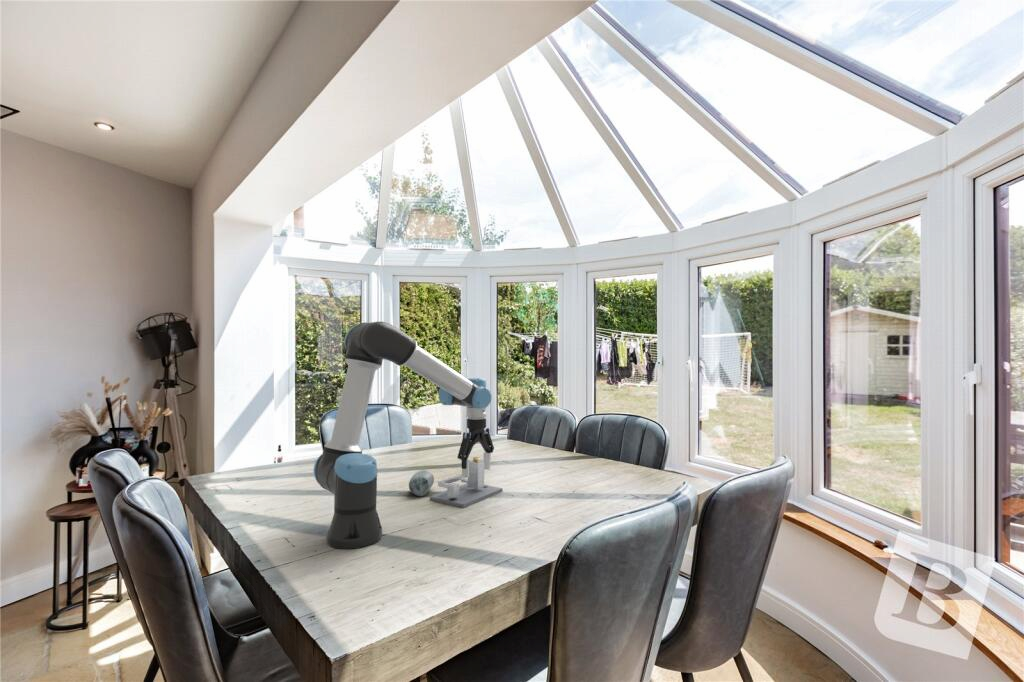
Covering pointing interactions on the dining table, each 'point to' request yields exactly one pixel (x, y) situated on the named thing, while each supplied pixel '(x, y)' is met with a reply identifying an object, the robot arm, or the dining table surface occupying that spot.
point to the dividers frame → (451, 485)
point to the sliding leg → (475, 474)
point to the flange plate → (466, 495)
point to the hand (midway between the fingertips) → (476, 473)
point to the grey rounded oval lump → (421, 482)
